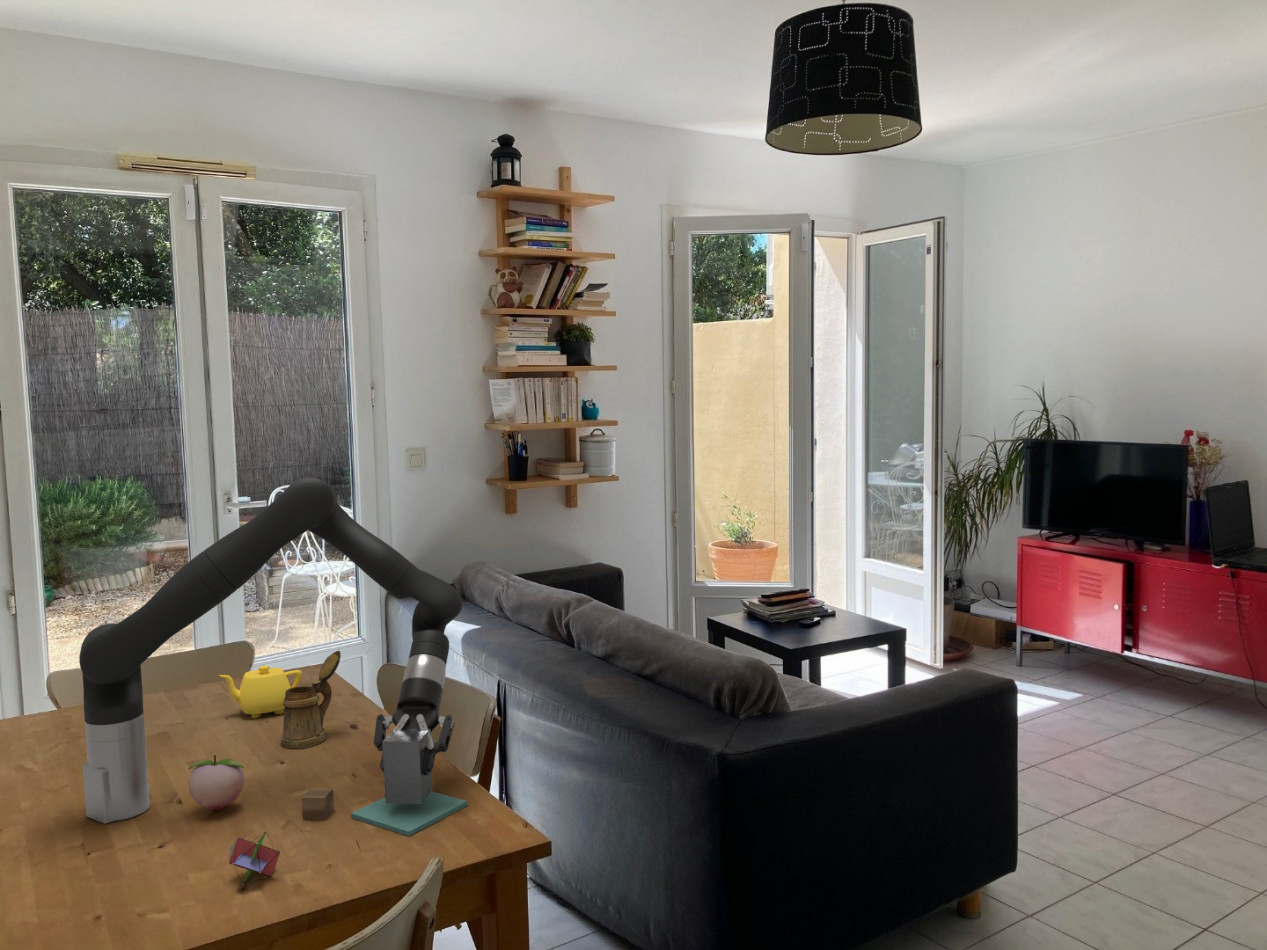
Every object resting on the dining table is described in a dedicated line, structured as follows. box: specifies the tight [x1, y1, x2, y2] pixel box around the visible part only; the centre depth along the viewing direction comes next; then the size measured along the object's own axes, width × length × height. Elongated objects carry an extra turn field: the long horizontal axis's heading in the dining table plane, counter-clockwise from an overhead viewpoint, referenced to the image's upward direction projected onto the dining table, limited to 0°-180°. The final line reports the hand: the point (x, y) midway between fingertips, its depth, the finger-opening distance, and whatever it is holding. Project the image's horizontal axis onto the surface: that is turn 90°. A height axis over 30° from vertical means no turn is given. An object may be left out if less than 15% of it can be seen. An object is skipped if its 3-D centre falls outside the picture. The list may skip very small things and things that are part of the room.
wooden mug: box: [280, 650, 342, 750], centre depth 211 cm, size 9×14×18 cm, turn 128°
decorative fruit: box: [187, 754, 245, 811], centre depth 175 cm, size 9×8×10 cm
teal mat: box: [350, 790, 468, 837], centre depth 174 cm, size 14×14×1 cm
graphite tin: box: [382, 729, 434, 804], centre depth 173 cm, size 6×6×11 cm
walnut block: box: [301, 787, 335, 821], centre depth 173 cm, size 4×4×4 cm
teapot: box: [218, 665, 303, 719], centre depth 230 cm, size 18×11×11 cm, turn 116°
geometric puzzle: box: [228, 830, 282, 886], centre depth 151 cm, size 7×7×8 cm
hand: (405, 772), depth 171 cm, fingers closed on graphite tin, 6 cm apart
